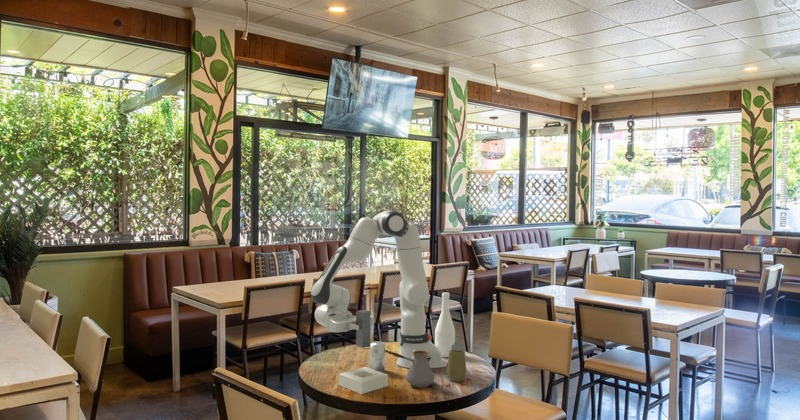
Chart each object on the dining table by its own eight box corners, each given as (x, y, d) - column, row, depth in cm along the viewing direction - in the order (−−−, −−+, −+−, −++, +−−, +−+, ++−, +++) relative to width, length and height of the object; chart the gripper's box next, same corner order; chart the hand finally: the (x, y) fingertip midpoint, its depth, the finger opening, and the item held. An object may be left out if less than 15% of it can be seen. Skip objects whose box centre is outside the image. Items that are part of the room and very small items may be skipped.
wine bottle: (456, 353, 272) (458, 291, 271) (451, 358, 263) (452, 295, 263) (438, 351, 276) (439, 290, 275) (432, 356, 267) (433, 293, 266)
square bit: (363, 344, 228) (363, 309, 227) (370, 346, 225) (370, 311, 224) (356, 345, 225) (356, 311, 224) (362, 347, 222) (362, 312, 222)
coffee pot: (428, 378, 235) (428, 342, 234) (438, 387, 224) (439, 350, 223) (379, 383, 228) (379, 346, 228) (387, 392, 217) (387, 354, 217)
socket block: (365, 377, 235) (365, 366, 235) (388, 385, 225) (388, 374, 225) (338, 385, 225) (338, 373, 225) (361, 394, 215) (361, 382, 215)
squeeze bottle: (443, 378, 235) (444, 335, 235) (460, 375, 239) (461, 333, 238) (452, 384, 228) (453, 340, 228) (469, 381, 231) (470, 338, 231)
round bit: (383, 368, 248) (384, 341, 247) (386, 372, 241) (386, 345, 241) (369, 368, 247) (369, 341, 246) (370, 373, 240) (371, 345, 240)
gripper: (362, 324, 241) (383, 330, 231) (323, 332, 227) (344, 338, 217) (362, 309, 241) (383, 314, 231) (323, 316, 227) (344, 322, 217)
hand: (364, 326), depth 224 cm, fingers closed on square bit, 4 cm apart
